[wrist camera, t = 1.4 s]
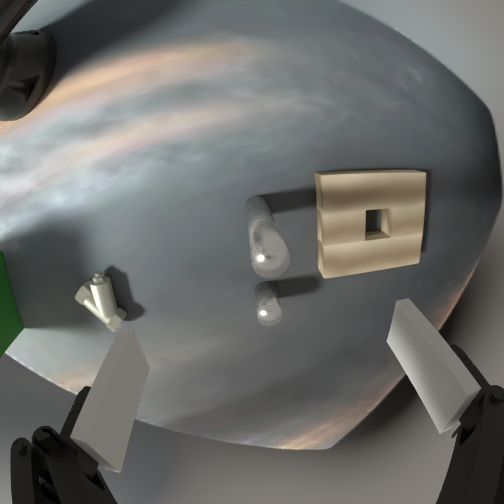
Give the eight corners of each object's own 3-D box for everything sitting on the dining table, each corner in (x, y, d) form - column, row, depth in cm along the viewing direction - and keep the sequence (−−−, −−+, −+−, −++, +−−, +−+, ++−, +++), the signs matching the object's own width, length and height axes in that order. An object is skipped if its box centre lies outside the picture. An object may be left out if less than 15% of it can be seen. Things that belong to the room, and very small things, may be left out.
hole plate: (314, 172, 32) (321, 175, 29) (413, 169, 32) (425, 172, 29) (318, 268, 37) (324, 278, 34) (408, 254, 37) (418, 263, 34)
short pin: (253, 282, 37) (256, 307, 32) (275, 280, 37) (281, 304, 32) (256, 301, 38) (258, 327, 33) (277, 298, 38) (282, 324, 33)
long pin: (244, 197, 33) (249, 245, 18) (266, 194, 33) (288, 240, 18) (247, 217, 34) (253, 280, 19) (268, 215, 34) (291, 275, 19)
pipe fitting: (100, 262, 35) (83, 289, 37) (88, 273, 32) (71, 301, 33) (140, 297, 38) (119, 321, 39) (131, 311, 34) (111, 336, 35)
